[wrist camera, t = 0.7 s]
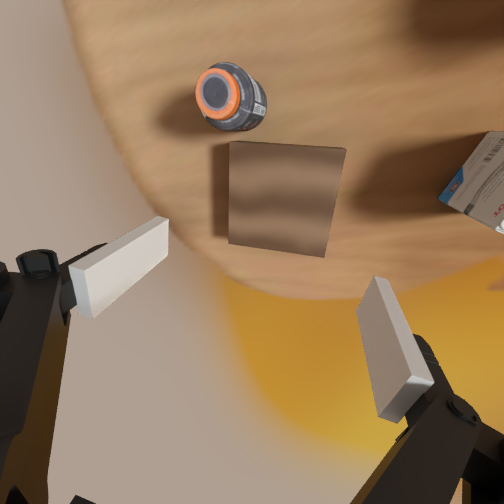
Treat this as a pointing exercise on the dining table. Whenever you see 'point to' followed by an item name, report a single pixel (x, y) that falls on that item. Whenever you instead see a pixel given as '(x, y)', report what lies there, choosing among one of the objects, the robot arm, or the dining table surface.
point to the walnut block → (283, 195)
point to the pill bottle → (230, 98)
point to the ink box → (481, 183)
